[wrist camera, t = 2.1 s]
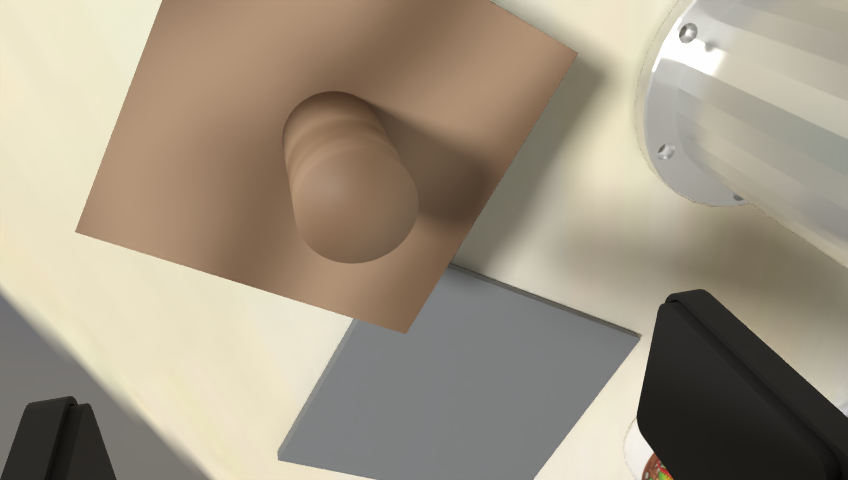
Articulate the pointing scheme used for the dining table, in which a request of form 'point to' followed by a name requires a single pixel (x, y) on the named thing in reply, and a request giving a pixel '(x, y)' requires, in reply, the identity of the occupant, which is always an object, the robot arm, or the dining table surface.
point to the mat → (458, 387)
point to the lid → (321, 143)
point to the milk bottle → (642, 457)
